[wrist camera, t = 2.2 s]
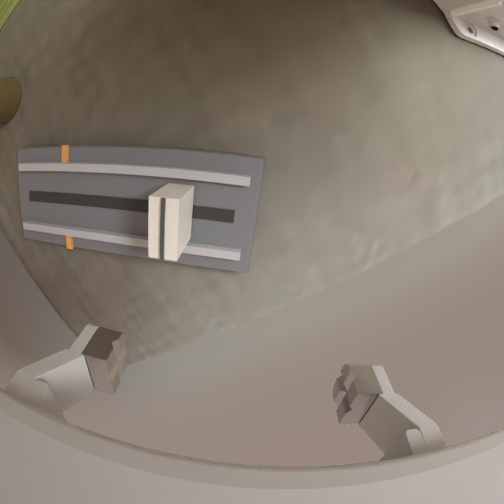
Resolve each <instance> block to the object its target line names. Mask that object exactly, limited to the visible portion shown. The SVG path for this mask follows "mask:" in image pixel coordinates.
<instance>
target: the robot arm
mask: <svg viewBox="0 0 504 504" xmlns="http://www.w3.org/2000/svg"><path fill="white" fill-rule="evenodd" d="M433 1H434V2H435V3H436V4H437V5H438V6H439V7H440V9H441V10H442V11H443V13H444V14H445V16H446V18H447V20H448V22H449V24H450V26H451V28H452V29H453V31H454V32H455V34H456V35H457V36H459V37H460V38H462V39H465V40H468V41H470V42H473V43H476V44H478V45H481V46H483V47H485V48H488V49H490V50H492V51H494V52H497V53H499V54H501V55H503V56H504V0H433ZM468 30H469V31H470V32H469V31H468ZM125 343H126V336H125V334H124V333H121V332H117V331H113V330H110V329H106V328H103V327H98V326H95V325H92V324H88V325H86V326H85V328H84V329H83V330H82V332H81V333H80V335H79V336H78V337H77V339H76V340H75V342H74V343H73V344H72V346H71V347H70V349H69V350H67V349H64V350H62V351H60V352H57V353H55V354H53V355H51V356H48V357H46V358H44V359H41V360H39V361H37V362H35V363H32V364H30V365H28V366H25V367H23V368H21V369H19V370H18V371H17V372H16V374H15V375H14V377H13V378H12V379H11V381H10V382H9V383H8V385H7V386H6V388H5V389H4V391H3V390H2V389H0V504H504V428H503V429H500V430H497V431H495V432H492V433H489V434H487V435H484V436H481V437H478V438H475V439H472V440H469V441H466V442H462V443H459V444H456V445H452V446H449V447H446V445H445V442H444V440H443V437H442V435H441V433H440V430H439V428H438V426H437V424H436V423H434V422H433V421H432V420H431V419H429V418H428V417H427V416H425V415H424V414H423V413H421V412H420V411H419V410H418V409H416V408H415V407H414V406H413V405H411V404H410V403H409V402H408V401H406V400H405V399H404V398H402V397H401V396H400V395H399V394H394V392H393V389H392V387H391V385H390V382H389V380H388V377H387V375H386V373H385V371H384V368H383V366H382V365H381V364H369V365H368V364H345V365H344V366H343V367H342V369H341V374H342V376H340V377H339V378H337V380H336V382H335V384H334V388H333V398H334V402H335V403H336V404H338V406H339V407H338V408H337V410H336V412H337V416H338V421H339V423H340V424H357V423H358V424H359V425H360V426H361V428H362V429H363V430H364V431H365V432H366V433H367V434H368V436H369V437H370V438H371V439H372V440H373V441H374V442H375V444H376V445H377V446H378V447H379V448H380V449H381V450H382V451H383V452H384V453H385V455H384V456H383V457H382V458H381V459H380V460H379V461H374V462H366V463H356V464H345V465H331V466H300V467H299V466H297V467H296V466H293V467H292V466H263V465H247V464H237V463H227V462H219V461H210V460H204V459H198V458H192V457H186V456H181V455H176V454H171V453H166V452H161V451H157V450H153V449H149V448H145V447H141V446H137V445H133V444H130V443H127V442H123V441H120V440H116V439H113V438H110V437H107V436H104V435H101V434H98V433H95V432H93V431H90V430H87V429H84V428H82V427H79V426H77V425H74V424H71V423H69V422H67V421H66V419H65V418H64V416H63V414H62V412H63V411H65V410H66V409H68V408H69V407H71V406H72V405H73V404H75V403H76V402H78V401H79V400H81V399H82V398H84V397H85V396H86V395H88V394H89V393H90V392H92V391H94V389H97V390H101V391H104V392H108V393H111V394H115V392H116V390H117V387H118V386H119V383H120V379H119V376H120V375H122V374H124V373H125V370H126V368H127V364H128V350H127V349H126V348H125V346H124V345H125Z"/></svg>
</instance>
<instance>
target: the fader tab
mask: <svg viewBox="0 0 504 504" xmlns="http://www.w3.org/2000/svg"><path fill="white" fill-rule="evenodd" d="M193 197H194V185H185V184H175V183H168V184H166V185H165V186H163V187H162V188H160V189H159V190H157V191H156V192H154V193H153V194H151V195H150V196H149V212H148V257H151V258H158V259H160V260H163V261H164V259H165V260H171V261H177V260H178V258H179V257H180V255H181V253H182V252H183V250H184V248H185V247H186V245H187V243H188V242H189V240H190V238H191V225H192V210H193Z"/></svg>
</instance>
